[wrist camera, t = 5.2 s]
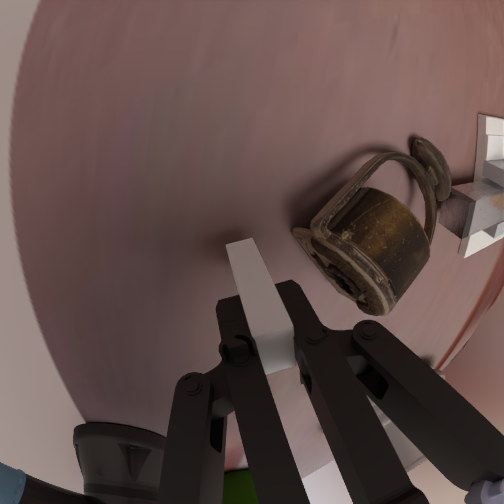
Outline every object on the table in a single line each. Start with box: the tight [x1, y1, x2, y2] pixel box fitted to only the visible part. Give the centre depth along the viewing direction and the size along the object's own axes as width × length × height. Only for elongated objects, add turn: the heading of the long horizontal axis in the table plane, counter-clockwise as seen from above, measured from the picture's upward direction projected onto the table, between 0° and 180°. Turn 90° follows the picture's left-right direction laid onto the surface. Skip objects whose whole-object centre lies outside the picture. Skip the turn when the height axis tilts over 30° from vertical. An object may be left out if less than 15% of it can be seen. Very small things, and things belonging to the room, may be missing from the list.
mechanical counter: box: [292, 137, 451, 316], centre depth 15 cm, size 7×13×10 cm
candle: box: [367, 396, 427, 473], centre depth 22 cm, size 7×7×15 cm
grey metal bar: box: [438, 179, 504, 239], centre depth 15 cm, size 10×6×6 cm, turn 99°
